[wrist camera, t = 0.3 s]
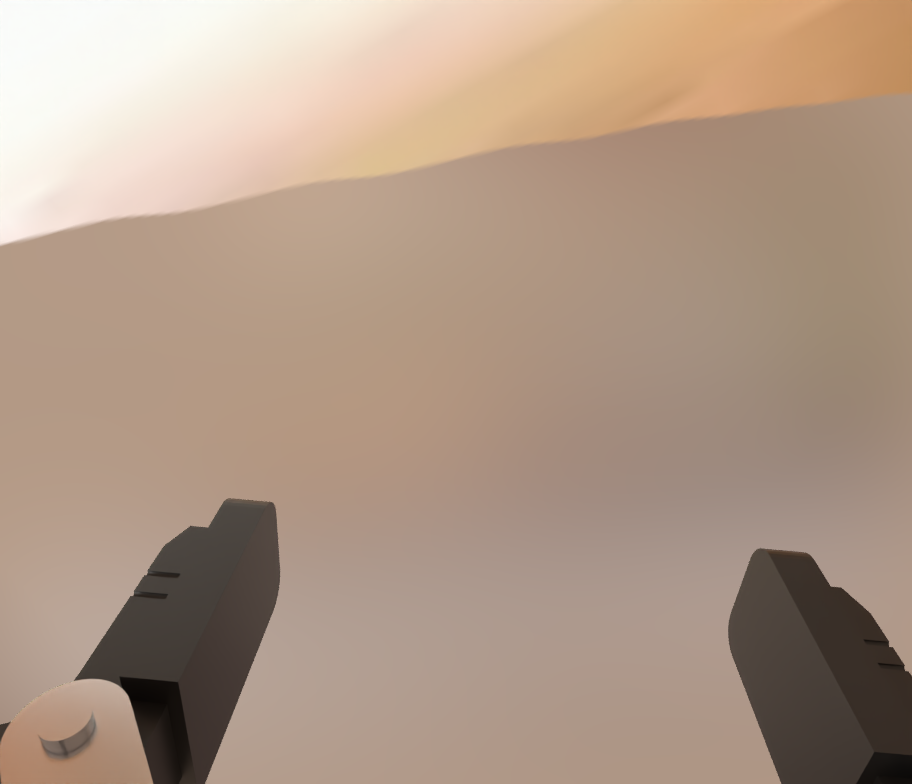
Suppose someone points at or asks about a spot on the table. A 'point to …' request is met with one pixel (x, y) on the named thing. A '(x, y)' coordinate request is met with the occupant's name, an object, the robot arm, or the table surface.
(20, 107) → the table surface
